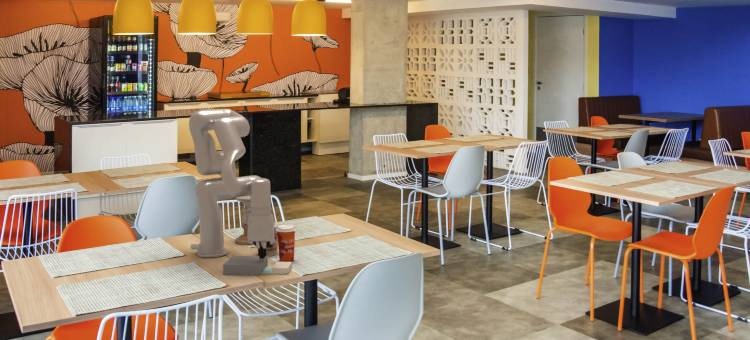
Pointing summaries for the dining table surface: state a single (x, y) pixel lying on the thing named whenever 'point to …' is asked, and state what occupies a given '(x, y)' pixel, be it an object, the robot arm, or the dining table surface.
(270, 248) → the coffee cup
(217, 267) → the dining table surface
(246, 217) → the candle holder
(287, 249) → the paper cup
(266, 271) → the mat
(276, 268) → the pale pink flat block
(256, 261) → the grey flat block
